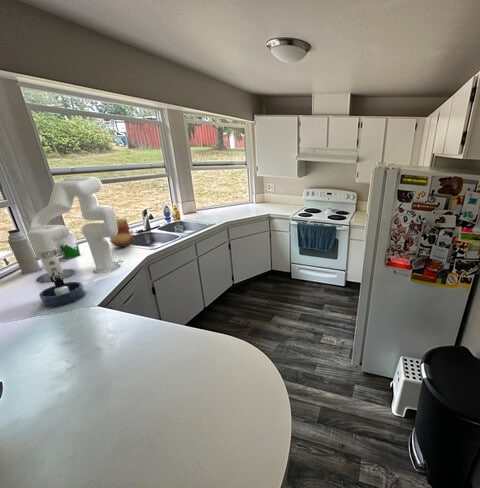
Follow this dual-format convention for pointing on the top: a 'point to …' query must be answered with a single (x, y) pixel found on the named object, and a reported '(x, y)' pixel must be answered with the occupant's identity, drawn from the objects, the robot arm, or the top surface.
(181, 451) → the top surface
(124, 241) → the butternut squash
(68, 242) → the milk carton
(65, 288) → the pepper shaker
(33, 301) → the top surface
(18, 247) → the thermos bottle
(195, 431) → the top surface
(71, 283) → the pot
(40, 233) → the robot arm
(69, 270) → the lid
